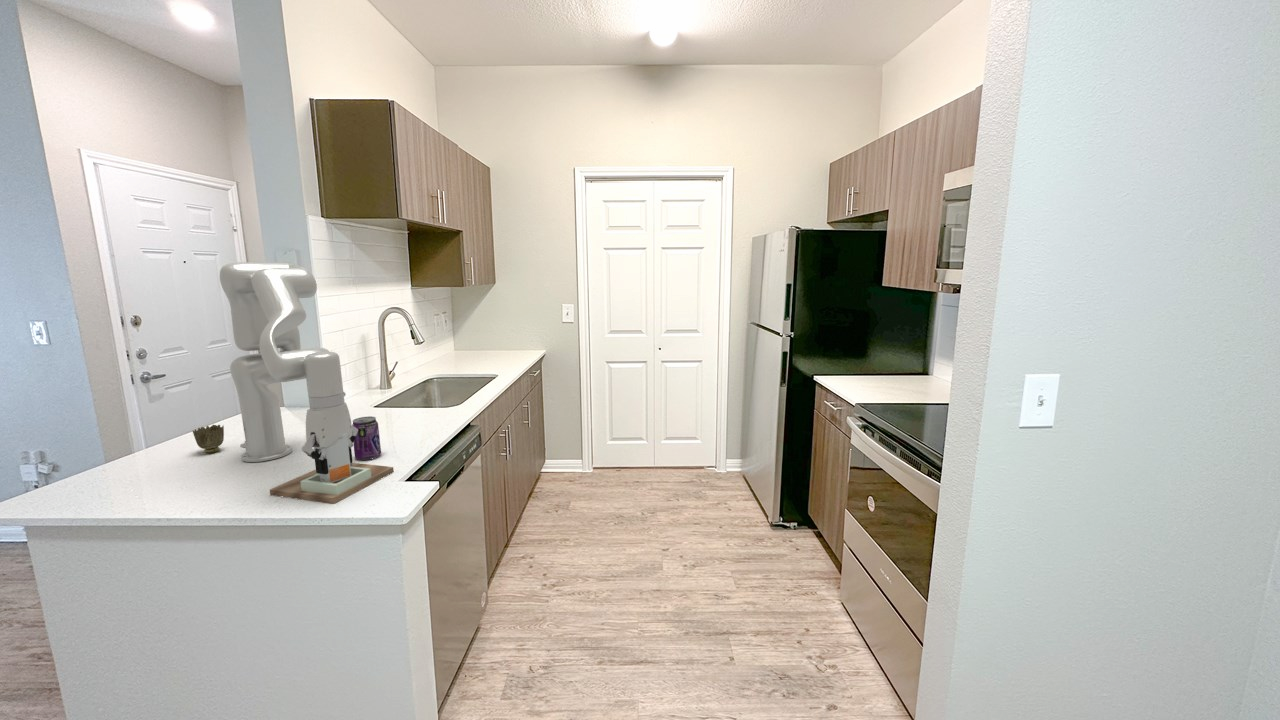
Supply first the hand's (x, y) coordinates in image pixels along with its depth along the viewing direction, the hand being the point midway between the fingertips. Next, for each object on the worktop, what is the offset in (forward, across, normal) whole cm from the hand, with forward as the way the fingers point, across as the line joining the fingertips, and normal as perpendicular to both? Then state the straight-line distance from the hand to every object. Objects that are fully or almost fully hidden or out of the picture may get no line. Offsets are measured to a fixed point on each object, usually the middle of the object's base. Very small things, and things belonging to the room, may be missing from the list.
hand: (335, 467), depth 129 cm
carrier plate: (+6, -3, -4) cm, 8 cm away
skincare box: (+4, 0, 0) cm, 4 cm away
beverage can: (+6, -21, -10) cm, 24 cm away
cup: (+7, -13, -62) cm, 63 cm away
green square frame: (+5, 0, 0) cm, 5 cm away
